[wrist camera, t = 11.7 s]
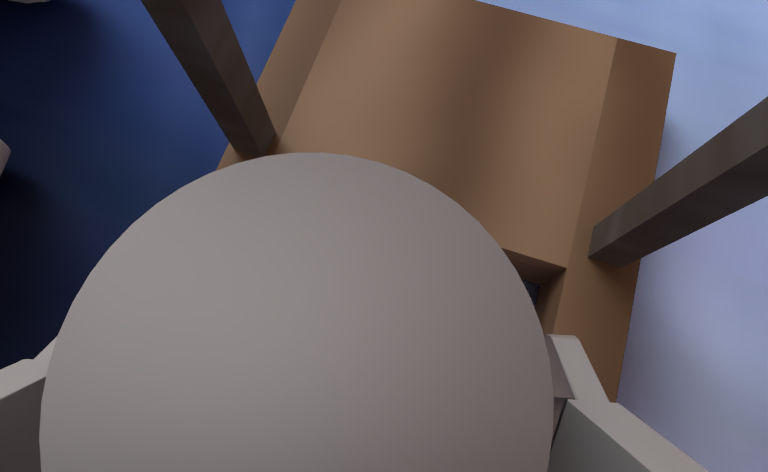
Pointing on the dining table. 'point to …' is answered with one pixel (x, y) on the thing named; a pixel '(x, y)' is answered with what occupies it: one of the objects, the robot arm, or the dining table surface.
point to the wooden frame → (488, 134)
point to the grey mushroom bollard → (301, 334)
